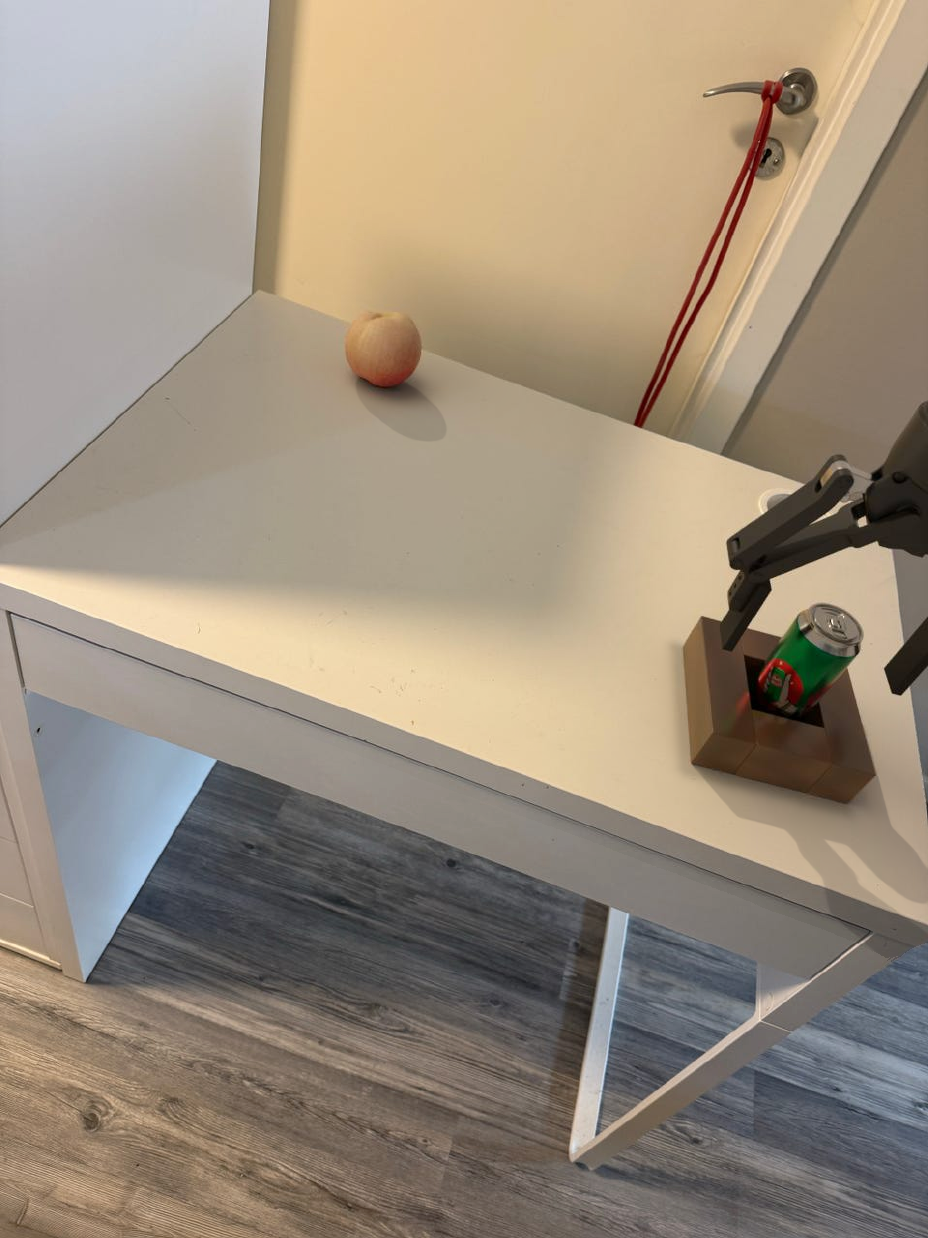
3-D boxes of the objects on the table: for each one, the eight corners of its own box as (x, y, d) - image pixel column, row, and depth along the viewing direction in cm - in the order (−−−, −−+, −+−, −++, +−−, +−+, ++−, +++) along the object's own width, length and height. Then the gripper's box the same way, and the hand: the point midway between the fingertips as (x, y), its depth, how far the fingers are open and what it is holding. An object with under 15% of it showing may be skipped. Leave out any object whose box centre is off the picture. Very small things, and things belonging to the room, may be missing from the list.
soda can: (782, 703, 73) (857, 606, 65) (796, 751, 69) (877, 654, 61) (727, 693, 72) (796, 593, 64) (738, 740, 69) (813, 641, 60)
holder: (820, 683, 76) (843, 653, 73) (848, 804, 66) (876, 775, 64) (682, 646, 75) (701, 615, 72) (690, 763, 66) (712, 732, 63)
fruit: (386, 356, 99) (397, 291, 94) (426, 392, 96) (440, 326, 90) (328, 366, 95) (336, 298, 89) (368, 404, 91) (379, 336, 86)
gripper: (1148, 447, 54) (947, 665, 69) (779, 342, 53) (653, 588, 67) (1207, 515, 49) (975, 737, 63) (797, 400, 47) (656, 654, 62)
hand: (808, 660), depth 65 cm, fingers open, 13 cm apart
